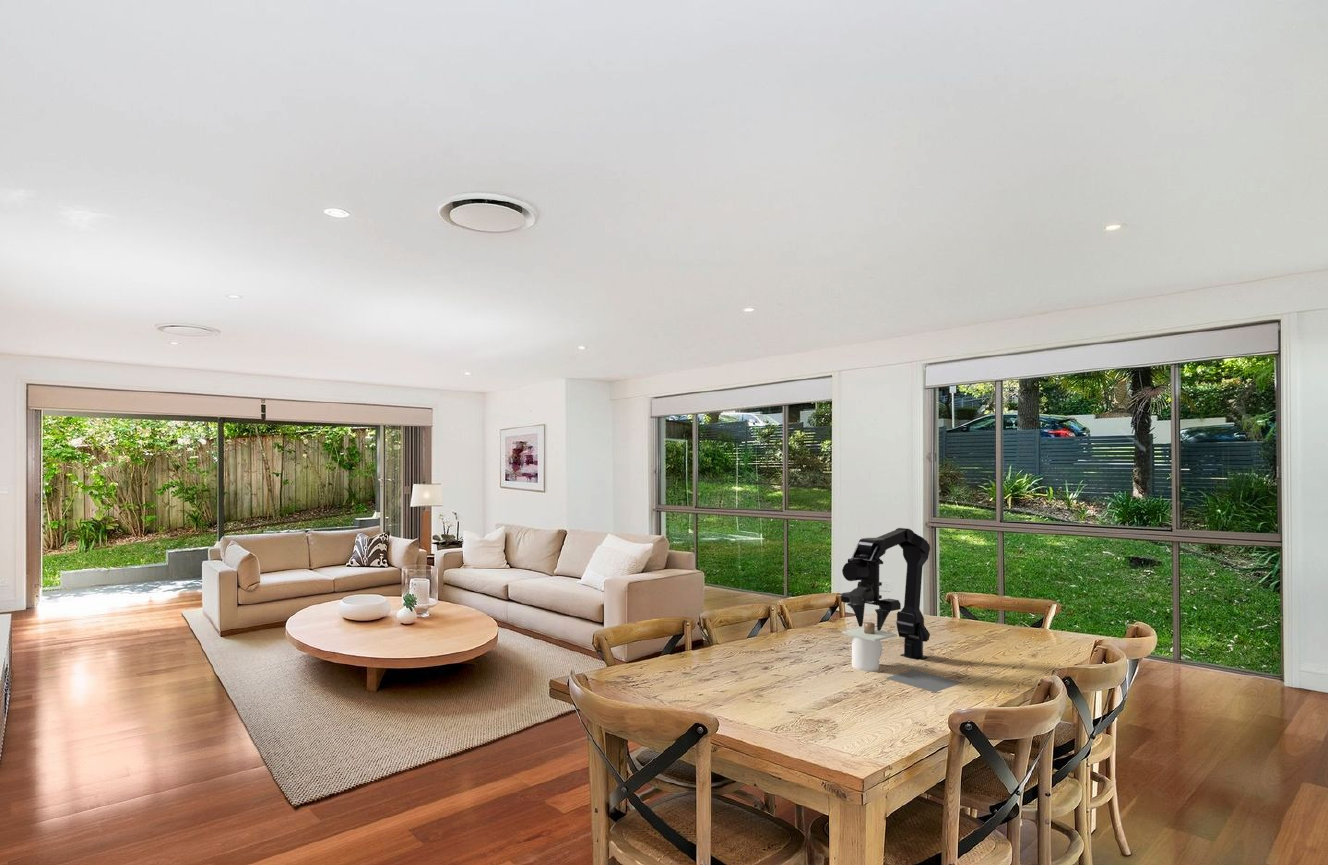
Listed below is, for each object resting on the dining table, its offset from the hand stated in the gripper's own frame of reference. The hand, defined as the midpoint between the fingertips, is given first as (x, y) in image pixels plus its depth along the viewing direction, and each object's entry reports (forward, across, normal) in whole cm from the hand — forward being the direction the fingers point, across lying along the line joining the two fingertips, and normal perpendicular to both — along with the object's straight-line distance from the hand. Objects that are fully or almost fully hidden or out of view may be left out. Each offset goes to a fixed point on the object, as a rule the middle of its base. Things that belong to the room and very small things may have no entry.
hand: (869, 628), depth 217 cm
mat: (+12, +18, +1) cm, 22 cm away
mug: (+12, 0, 0) cm, 12 cm away
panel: (+2, 0, 0) cm, 2 cm away
